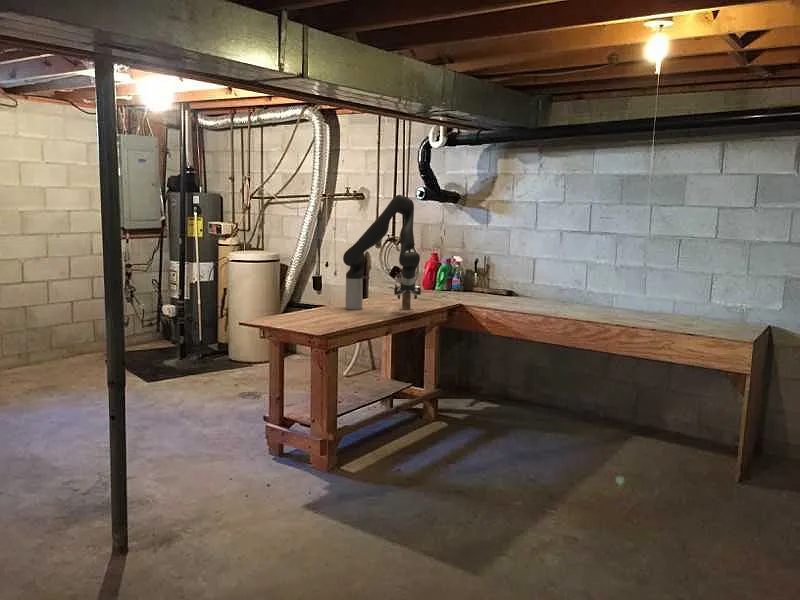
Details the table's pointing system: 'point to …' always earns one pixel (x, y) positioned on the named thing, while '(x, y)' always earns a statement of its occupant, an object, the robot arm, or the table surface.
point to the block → (406, 301)
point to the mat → (406, 310)
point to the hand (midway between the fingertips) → (407, 298)
